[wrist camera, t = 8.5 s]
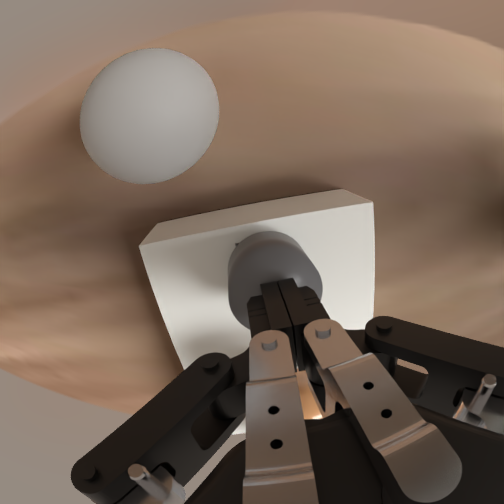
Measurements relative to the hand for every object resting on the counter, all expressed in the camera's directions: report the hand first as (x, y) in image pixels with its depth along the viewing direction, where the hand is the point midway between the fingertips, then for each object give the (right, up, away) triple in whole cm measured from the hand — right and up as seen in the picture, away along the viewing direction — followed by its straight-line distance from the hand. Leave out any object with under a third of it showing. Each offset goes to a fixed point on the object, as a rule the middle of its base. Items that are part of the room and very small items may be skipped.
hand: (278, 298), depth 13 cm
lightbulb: (-6, +11, +6) cm, 14 cm away
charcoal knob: (-1, +3, +8) cm, 9 cm away
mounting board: (0, -3, +11) cm, 12 cm away
